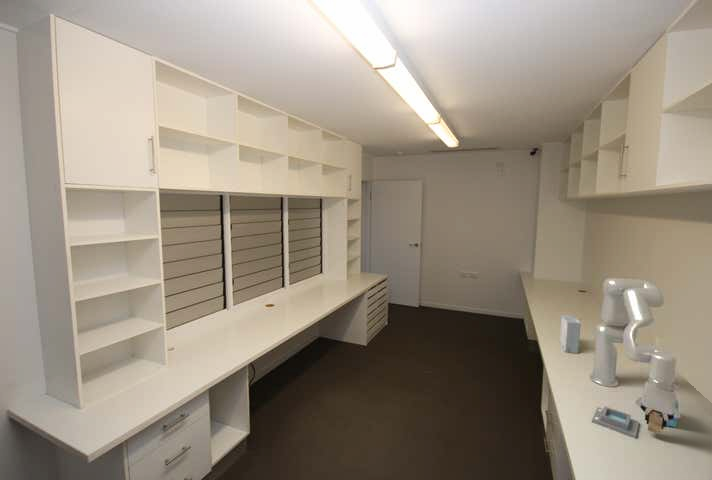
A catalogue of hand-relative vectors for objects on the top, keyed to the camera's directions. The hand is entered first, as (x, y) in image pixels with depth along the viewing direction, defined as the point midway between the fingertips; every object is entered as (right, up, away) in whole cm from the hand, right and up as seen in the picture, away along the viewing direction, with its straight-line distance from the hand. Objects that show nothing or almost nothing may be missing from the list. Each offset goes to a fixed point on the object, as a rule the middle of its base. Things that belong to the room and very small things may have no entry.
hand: (655, 424), depth 141 cm
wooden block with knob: (0, -2, 0) cm, 2 cm away
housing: (-10, -4, +9) cm, 14 cm away
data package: (+14, -4, +12) cm, 19 cm away
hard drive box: (+17, +5, +85) cm, 86 cm away
